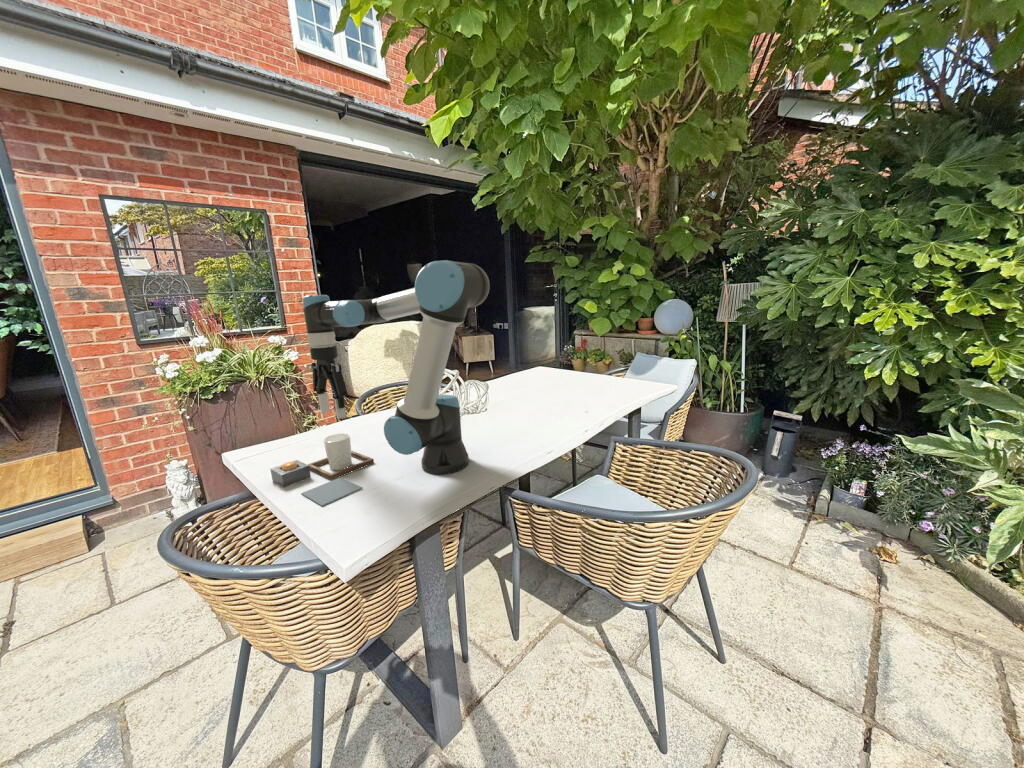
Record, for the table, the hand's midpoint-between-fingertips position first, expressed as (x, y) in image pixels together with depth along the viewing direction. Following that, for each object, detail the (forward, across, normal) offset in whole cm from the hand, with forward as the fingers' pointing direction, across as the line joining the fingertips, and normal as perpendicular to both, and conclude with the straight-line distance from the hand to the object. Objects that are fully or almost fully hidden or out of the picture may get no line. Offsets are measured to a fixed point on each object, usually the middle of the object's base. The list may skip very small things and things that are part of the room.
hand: (333, 415), depth 128 cm
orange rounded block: (+17, +4, +14) cm, 22 cm away
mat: (+18, -15, +11) cm, 26 cm away
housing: (+18, +4, +14) cm, 23 cm away
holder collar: (+18, 0, 0) cm, 18 cm away
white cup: (+18, 0, 0) cm, 18 cm away
